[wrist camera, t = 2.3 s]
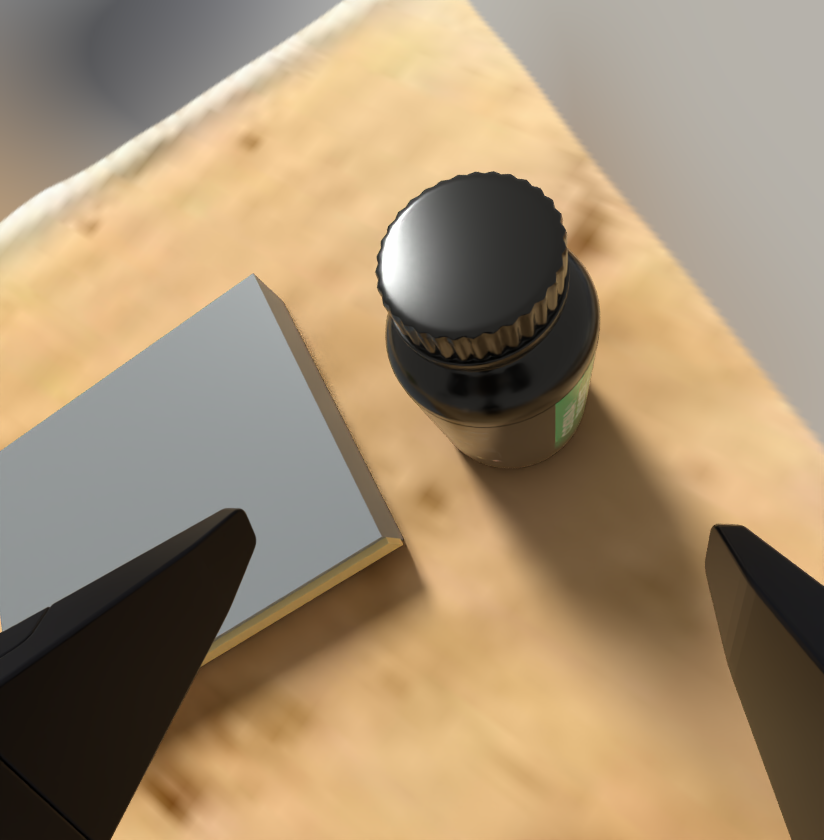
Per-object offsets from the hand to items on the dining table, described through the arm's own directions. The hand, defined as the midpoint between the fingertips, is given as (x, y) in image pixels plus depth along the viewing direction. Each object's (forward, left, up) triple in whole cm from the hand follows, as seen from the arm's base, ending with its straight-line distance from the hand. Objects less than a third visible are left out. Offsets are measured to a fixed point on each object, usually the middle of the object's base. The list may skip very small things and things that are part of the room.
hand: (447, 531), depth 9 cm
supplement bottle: (+4, -6, -13) cm, 15 cm away
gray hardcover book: (+16, +8, -13) cm, 22 cm away
